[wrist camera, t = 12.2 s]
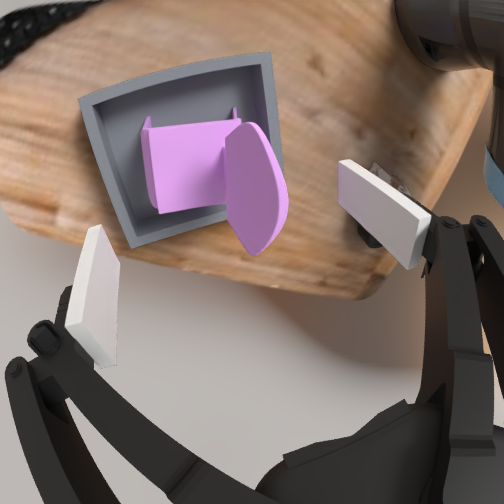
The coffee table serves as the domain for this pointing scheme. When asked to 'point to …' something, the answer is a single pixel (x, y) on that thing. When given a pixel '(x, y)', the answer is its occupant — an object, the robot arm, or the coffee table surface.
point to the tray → (168, 114)
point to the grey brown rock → (393, 182)
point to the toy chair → (218, 175)
